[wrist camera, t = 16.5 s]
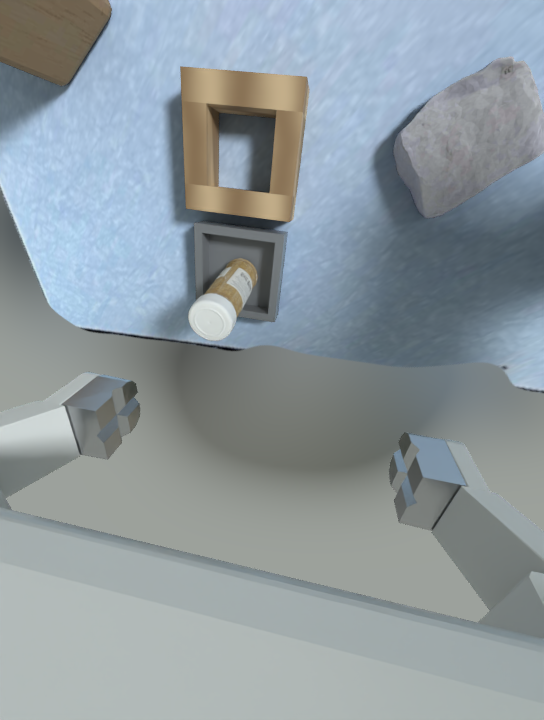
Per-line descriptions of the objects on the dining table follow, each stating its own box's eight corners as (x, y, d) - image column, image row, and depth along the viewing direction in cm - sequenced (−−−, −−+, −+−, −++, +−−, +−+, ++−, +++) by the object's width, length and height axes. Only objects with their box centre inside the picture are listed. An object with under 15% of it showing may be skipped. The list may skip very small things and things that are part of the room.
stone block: (380, 148, 33) (422, 228, 34) (384, 130, 29) (433, 223, 30) (496, 59, 29) (539, 154, 30) (522, 22, 24) (572, 135, 26)
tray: (287, 231, 37) (284, 234, 35) (277, 314, 43) (274, 322, 40) (203, 220, 38) (193, 222, 36) (204, 302, 44) (196, 309, 41)
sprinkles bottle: (222, 259, 39) (180, 302, 28) (255, 256, 38) (226, 299, 27) (229, 292, 42) (194, 343, 31) (261, 289, 41) (236, 342, 30)
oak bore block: (309, 90, 30) (306, 76, 27) (293, 219, 36) (289, 221, 33) (196, 80, 31) (180, 66, 28) (199, 207, 37) (185, 208, 34)
